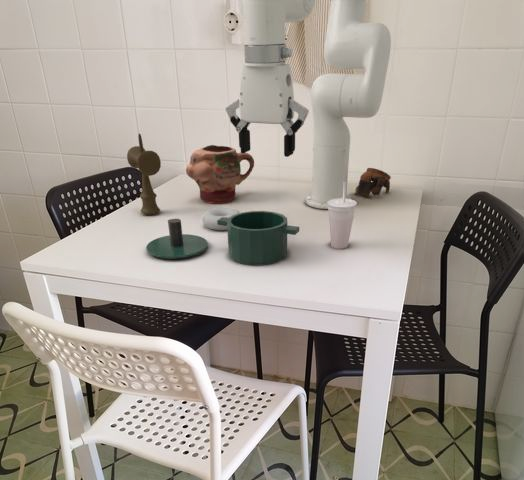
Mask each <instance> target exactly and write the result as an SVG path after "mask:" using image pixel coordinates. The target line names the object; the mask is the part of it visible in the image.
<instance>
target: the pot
mask: <svg viewBox="0 0 524 480" xmlns="http://www.w3.org/2000/svg"><path fill="white" fill-rule="evenodd" d="M217 225H223V226H227V230H226V231H227V244H228V245H227V246H228V255H229V258H230V259H231V260H232V261H234V262H235V263H238V264H242V265H245V266H246V265H247V266H268V265H272V264H276V263H279V262H282V261H283V260H284V259H285V258H286V257H288V235H293V236H296V235H297V234H298V233H299V232H300V226H296V225H288V217H287V216H285V215H284V214H282V213H279V212H275V211H268V210H267V211H266V210H250V211H243V212H240V213H239V214H236V215H233V216H231V217H230V218H225V217H222V218H220V219H219V220H217Z"/></svg>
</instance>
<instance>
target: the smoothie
mask: <svg viewBox="0 0 524 480" xmlns="http://www.w3.org/2000/svg"><path fill="white" fill-rule="evenodd" d="M345 194H346V195H347V193H346V182H344V184H343V198H338V199H332V200H329V201H328V202H327V208H328V209H327V210H328V221H329V223H328V224H329V235H330V247H331V248H334V249H339V250H340V249H346V248H348V246H349V241H350V238H351V237H350V236H351V232H352V226H353V221H354V216H355V212H356V209H357V208H358V206H357V205H358V202H357V201H356V200H354V199H352V198H351V199H352V200H351V199H345Z"/></svg>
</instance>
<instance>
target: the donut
mask: <svg viewBox="0 0 524 480" xmlns="http://www.w3.org/2000/svg"><path fill="white" fill-rule="evenodd" d="M239 213H241V211H240V210H237V209H236V208H232V207H216V208H211V209H209V210H207V211H206V212H204V214H203V216H202V219H201V220H202V223H203V225H204V227H206V228H207V229H210V230H214V231H227V226H223V225H217V220H219V219H220V218H222V217H225V218H230V217H231V216H233V215H236V214H239Z"/></svg>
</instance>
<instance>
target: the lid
mask: <svg viewBox="0 0 524 480" xmlns="http://www.w3.org/2000/svg"><path fill="white" fill-rule="evenodd" d="M167 226H168V234H169V235H163V236H161V237H157V238H155V239H152V240H151V241H149V242H148V243H147V245H146V246H145V249H146V253H148V254H149V255H151V256H153V257H155V258H159V259H169V260H170V259H172V260H173V259H175V260H176V259H184V258H185V259H186V258H189V257H194V256H196V255H197V256H198V255H199V254H201V253H203V252H204V251H206V250H207V248H208V247H209V243H208V240H207V239H206V238H204V237H202V236H200V235H196V234H189V233H185V234H184V233H183V228H182V220H181V219H180V218H170V219H168V220H167Z"/></svg>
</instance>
